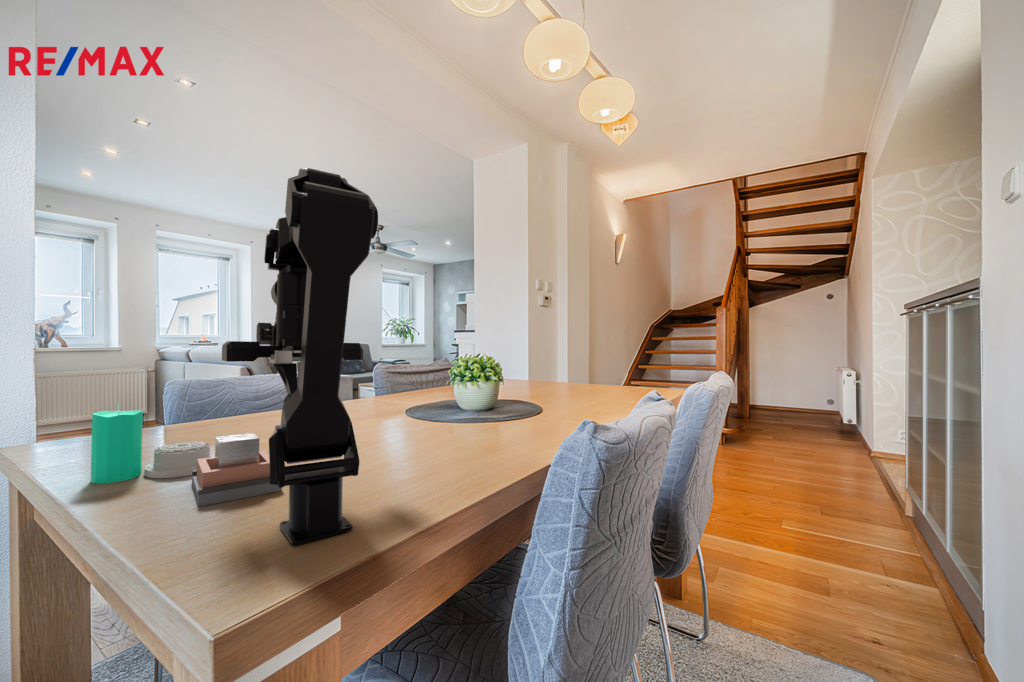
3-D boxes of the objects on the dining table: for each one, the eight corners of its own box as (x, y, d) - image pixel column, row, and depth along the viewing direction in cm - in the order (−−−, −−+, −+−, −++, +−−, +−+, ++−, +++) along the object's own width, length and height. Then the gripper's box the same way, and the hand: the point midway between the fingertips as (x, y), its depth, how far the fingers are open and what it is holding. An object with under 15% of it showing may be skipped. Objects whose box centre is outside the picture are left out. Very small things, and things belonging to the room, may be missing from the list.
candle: (79, 482, 66) (81, 404, 66) (121, 470, 72) (123, 399, 72) (111, 484, 65) (113, 405, 65) (151, 473, 71) (152, 401, 71)
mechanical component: (126, 479, 68) (186, 481, 68) (127, 451, 68) (187, 453, 68) (178, 462, 78) (231, 464, 78) (179, 438, 78) (231, 439, 78)
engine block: (258, 478, 64) (259, 438, 64) (218, 484, 61) (219, 442, 61) (252, 470, 68) (253, 432, 68) (214, 476, 65) (215, 436, 65)
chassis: (281, 490, 63) (282, 463, 63) (198, 506, 57) (199, 476, 57) (265, 471, 72) (265, 448, 72) (191, 483, 66) (192, 457, 66)
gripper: (341, 312, 78) (340, 398, 77) (218, 305, 66) (216, 406, 65) (365, 309, 69) (363, 405, 69) (228, 300, 57) (225, 416, 57)
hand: (296, 407), depth 65 cm, fingers closed
